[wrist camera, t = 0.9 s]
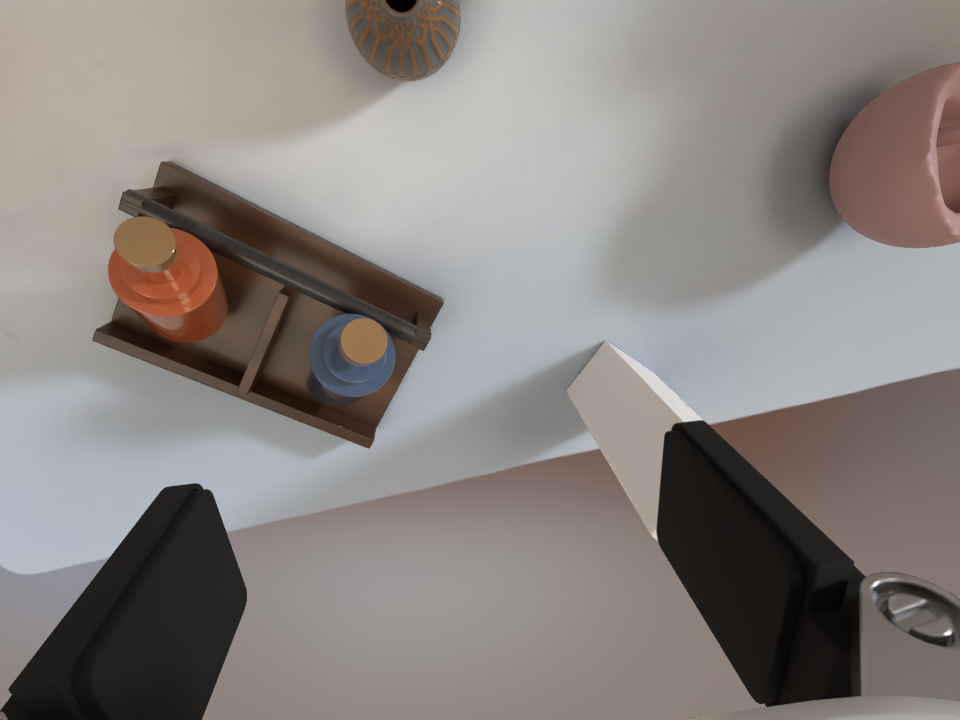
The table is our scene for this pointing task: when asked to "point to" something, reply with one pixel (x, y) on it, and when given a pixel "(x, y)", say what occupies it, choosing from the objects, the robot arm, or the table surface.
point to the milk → (629, 422)
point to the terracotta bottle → (168, 280)
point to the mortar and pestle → (903, 163)
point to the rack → (272, 305)
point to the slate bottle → (348, 360)
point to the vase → (404, 34)
